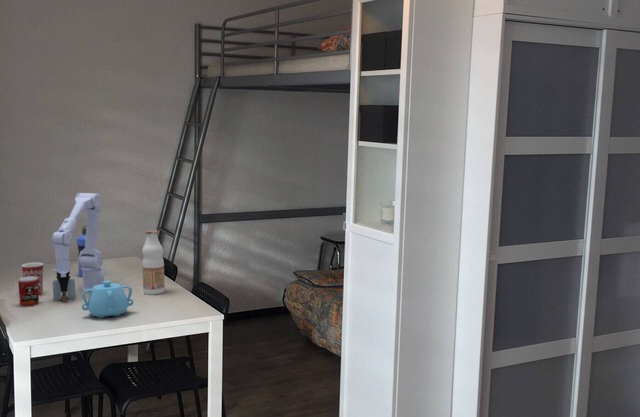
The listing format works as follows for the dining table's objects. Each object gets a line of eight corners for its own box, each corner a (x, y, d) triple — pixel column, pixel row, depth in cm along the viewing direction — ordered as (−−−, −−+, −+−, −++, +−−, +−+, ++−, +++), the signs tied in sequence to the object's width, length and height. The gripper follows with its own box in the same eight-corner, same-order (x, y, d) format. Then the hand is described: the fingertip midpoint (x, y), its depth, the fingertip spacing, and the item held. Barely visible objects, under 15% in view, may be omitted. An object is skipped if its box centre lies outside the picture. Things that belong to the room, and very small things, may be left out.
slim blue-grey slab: (75, 297, 316) (74, 278, 315) (75, 298, 314) (74, 279, 313) (53, 299, 313) (52, 280, 312) (53, 300, 311) (52, 281, 310)
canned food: (20, 307, 301) (19, 281, 300) (18, 302, 308) (17, 277, 307) (40, 304, 304) (38, 279, 303) (38, 300, 311) (36, 275, 310)
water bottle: (102, 274, 361) (99, 225, 358) (87, 278, 353) (84, 227, 350) (89, 272, 366) (87, 223, 363) (74, 276, 358) (72, 226, 355)
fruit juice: (141, 295, 320) (139, 232, 316) (145, 289, 329) (143, 229, 326) (162, 294, 320) (160, 232, 317) (166, 289, 330) (164, 229, 326)
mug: (44, 295, 320) (42, 265, 318) (22, 297, 317) (20, 267, 315) (45, 289, 332) (44, 260, 330) (24, 290, 329) (23, 261, 327)
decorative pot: (108, 322, 278) (106, 288, 277) (78, 316, 286) (76, 283, 284) (137, 312, 293) (136, 279, 291) (108, 307, 300) (107, 275, 298)
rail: (66, 295, 319) (65, 289, 319) (66, 302, 308) (66, 295, 308) (62, 296, 319) (62, 289, 319) (62, 302, 308) (62, 295, 307)
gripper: (52, 256, 317) (54, 287, 318) (52, 263, 303) (54, 294, 305) (69, 255, 319) (71, 285, 321) (70, 261, 306) (71, 293, 307)
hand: (64, 290), depth 313 cm, fingers open, 6 cm apart
